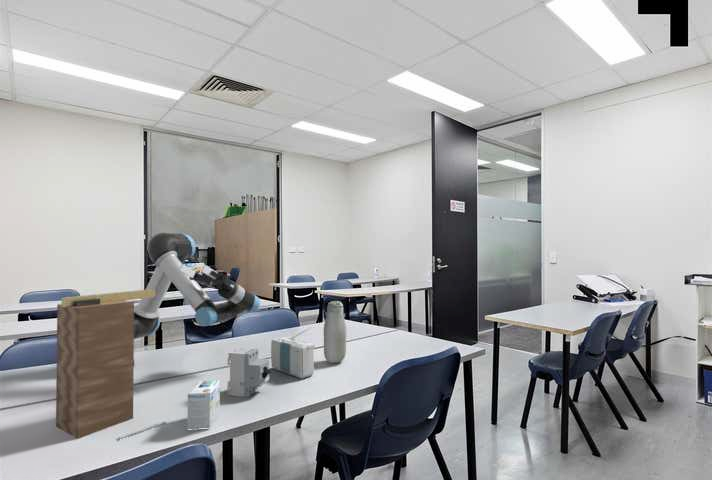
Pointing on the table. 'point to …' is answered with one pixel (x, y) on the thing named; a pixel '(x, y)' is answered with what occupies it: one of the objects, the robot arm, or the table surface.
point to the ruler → (142, 430)
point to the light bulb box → (203, 404)
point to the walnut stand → (94, 366)
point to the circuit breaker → (246, 371)
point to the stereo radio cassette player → (293, 356)
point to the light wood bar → (110, 297)
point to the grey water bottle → (334, 333)
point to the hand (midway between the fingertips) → (191, 267)
